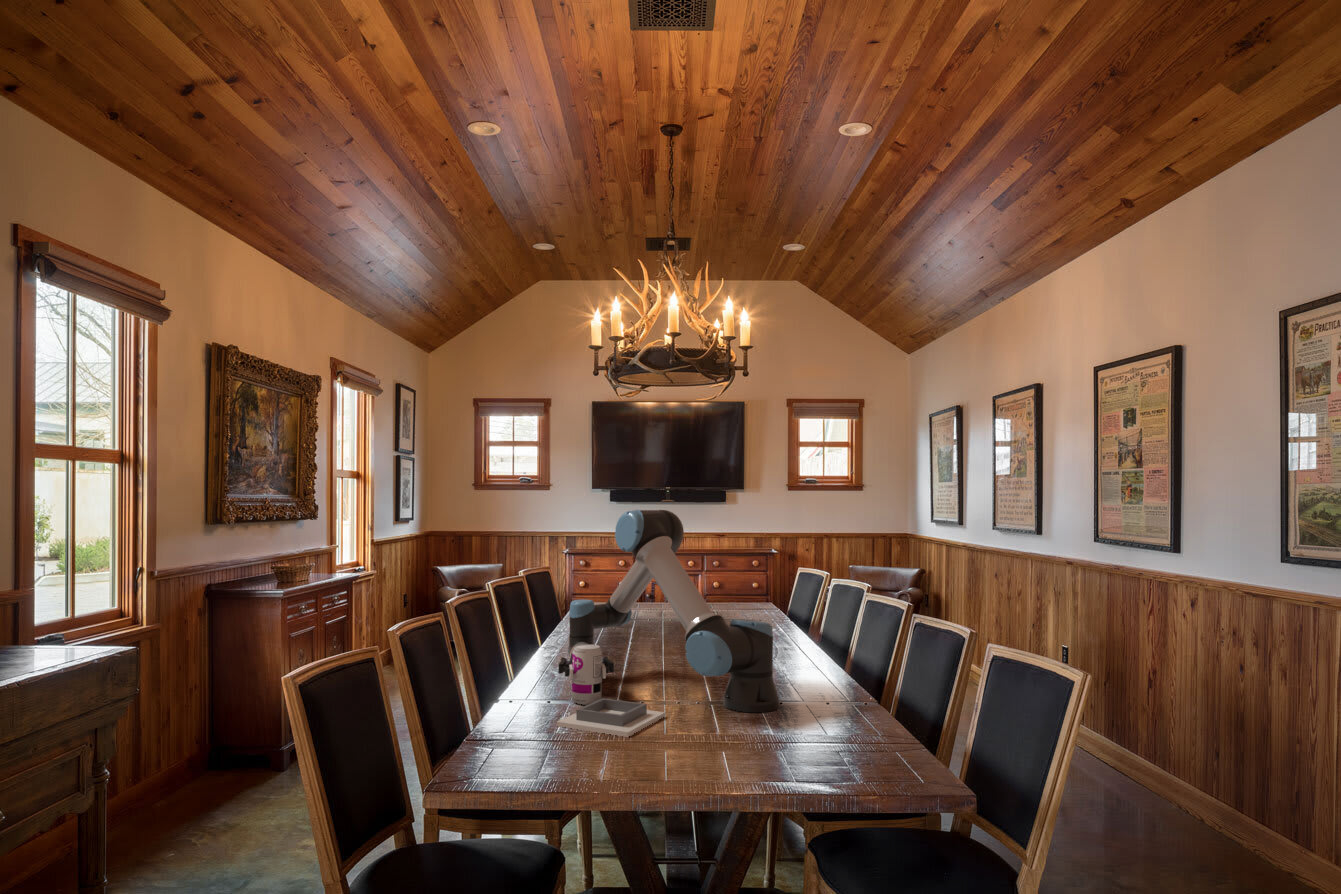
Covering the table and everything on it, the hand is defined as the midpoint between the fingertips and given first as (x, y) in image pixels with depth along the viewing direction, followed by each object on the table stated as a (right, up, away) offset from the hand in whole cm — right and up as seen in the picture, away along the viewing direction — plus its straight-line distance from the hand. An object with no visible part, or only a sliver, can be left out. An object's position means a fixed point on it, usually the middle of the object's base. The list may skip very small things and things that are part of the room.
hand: (588, 673), depth 224 cm
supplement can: (-1, -9, +4) cm, 10 cm away
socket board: (+8, -8, -15) cm, 19 cm away
